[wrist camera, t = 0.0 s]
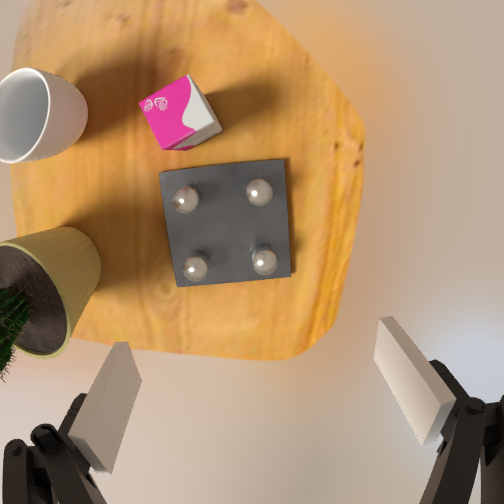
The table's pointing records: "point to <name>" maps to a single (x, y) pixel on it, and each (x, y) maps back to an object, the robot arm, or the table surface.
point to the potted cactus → (44, 290)
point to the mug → (38, 115)
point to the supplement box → (180, 115)
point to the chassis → (227, 222)
